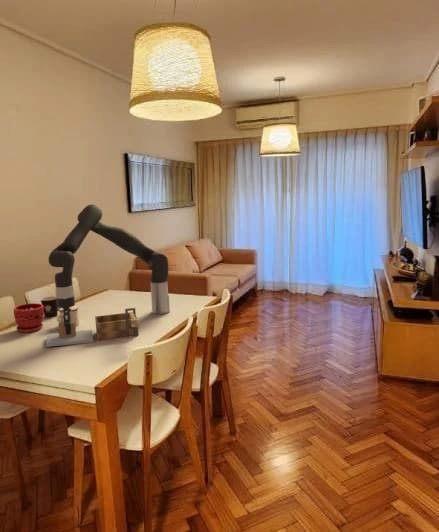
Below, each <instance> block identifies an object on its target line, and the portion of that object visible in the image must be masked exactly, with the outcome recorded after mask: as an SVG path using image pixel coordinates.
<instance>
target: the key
mask: <svg viewBox="0 0 439 532" xmlns="http://www.w3.org/2000/svg"><path fill="white" fill-rule="evenodd" d="M130 312H131V313H130ZM130 312H128V313H129V317H130V320H131V326H132V327H138V328H139V326H140V325H139V318H137V319H136V318H135V316H134V314H133V311H130Z"/></svg>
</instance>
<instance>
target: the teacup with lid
mask: <svg viewBox="0 0 439 532" xmlns="http://www.w3.org/2000/svg"><path fill="white" fill-rule="evenodd" d="M69 308H70V309H71V310H72V314H71V316H72V318H71V322H75V324H76V327H78V326H79V325H80V320H79V318H80V316H79V307H78V306H77V305H74V306H72V307H69ZM58 309H59V310H58V312H59V314H58V315H57V316H56V318H57V319H56V321H57V323H58V324H59V323H64V321H63V315H62V310H63V308H58Z"/></svg>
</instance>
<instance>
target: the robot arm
mask: <svg viewBox="0 0 439 532" xmlns="http://www.w3.org/2000/svg"><path fill="white" fill-rule="evenodd" d="M102 218H103V210H102V209H101V208H100V207H99V206H98V205H97V204H93V203H92V204H88V205H87V206H85V207H84V208H83V209H82V210H81V211H80V212H79V213H78V215H77V221H78V223H77V224H76V225H75V226H74V228H73V229H72V230H70V232H69V233H68V235H67V236H66V237H65V238H64V240H63V242H62V243H61V244H59V245H57V246H56V247H55V248H54V249H53V250H52V251H51V252H50V254H49V255H48V263H49V266H52V267H54V268H62V271H61V272H57V273H55V274H54V283H55V285H54V286H55V297H56V301H57V307H58V309H60V308H63V310H62V315H63V321H64V326H65V329H66V335H69V334H71V318H72V316H71V314H72V310H71V309H70V308H69V307H72V306H76V300H75V298H76V297H75V289H74V285H73V271H74V266H75V256H74V254H76V253H77V251H78V250H79V249H80V247H81V245H82V243H83V242H84V240H85V239H86V237H87V236H88V234H89V233H90V231H91V232H92V233H95V234H97V235H99V236H101V237H103V238H104V239H106V240H107V241H109V242H111V243H112V244H114V245H116V246H117V247H118V248H121V249H122V250H124V251H125V252H127V253H129V254H130V255H133V256H136V257H137V258H139V259H141V260H142V261H143V262H144V263H146V264H147V265H148V266H149V267H151V276H150V277H149V278H150V280H149V281H150V296H151V297H150V298H151V313H152V314H155V315H160V314H161V315H162V314H167V313H170V311H171V310H170V309H171V308H170V296H169V289H168V288H169V286H168V284H169V283H168V277H169V261H168V260H169V259H168V257H167V255H166V254H164V253H162V252H158V251H157V250H154V249H152V248H150V247H148V246H147V245H145V243H143V242H142V241H141V240H140V239H139V238H138V237H137V236H135V235H134V234H133V233H131V232H130V231H128V230H127V229H124V228H121V227H117V226H110V225H107V224H106V223H103V222H102V221H101V220H102ZM68 322H69V323H68ZM66 323H68V324H66Z"/></svg>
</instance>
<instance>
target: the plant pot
mask: <svg viewBox="0 0 439 532" xmlns="http://www.w3.org/2000/svg"><path fill="white" fill-rule="evenodd" d="M13 317H14V319H15V322H16V325H17V326H16V330H17V331H18V332H19V333H32V332H36V331H37V332H38V331H39V330H41V329H42V327H43V326H44V325H43V323H42V322H43V320H44V307H43V305H42V303H36V302H35V303H33V302H32V303H31V302H30V303H23V304H18V305H16V306H14V307H13Z"/></svg>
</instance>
